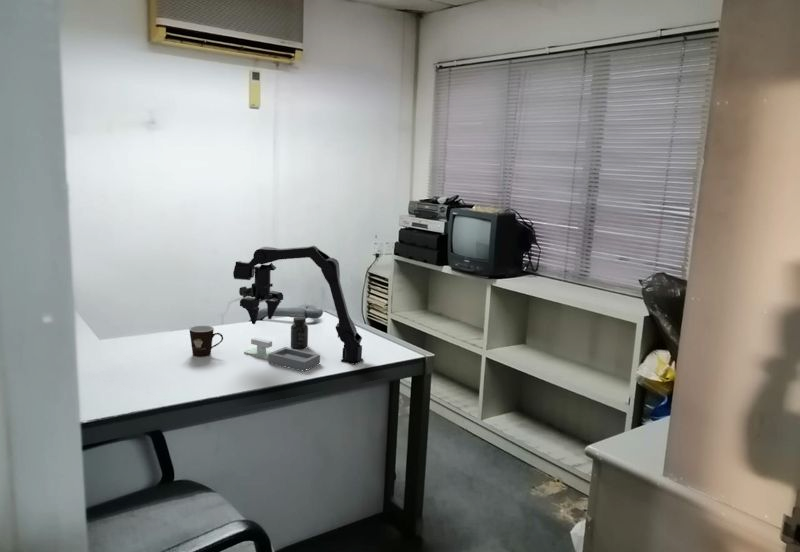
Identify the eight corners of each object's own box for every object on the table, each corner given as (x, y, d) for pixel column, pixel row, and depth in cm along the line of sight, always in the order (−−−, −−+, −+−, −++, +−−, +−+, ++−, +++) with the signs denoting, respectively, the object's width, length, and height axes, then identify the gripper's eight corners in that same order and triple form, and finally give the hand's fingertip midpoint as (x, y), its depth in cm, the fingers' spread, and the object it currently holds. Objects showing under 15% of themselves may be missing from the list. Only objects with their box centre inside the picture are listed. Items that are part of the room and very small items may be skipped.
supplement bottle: (309, 345, 245) (310, 316, 243) (305, 350, 238) (306, 320, 236) (292, 343, 245) (293, 315, 243) (288, 348, 239) (289, 319, 237)
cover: (278, 356, 230) (279, 341, 229) (268, 360, 225) (269, 344, 224) (254, 350, 236) (254, 335, 234) (243, 354, 230) (244, 339, 229)
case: (319, 363, 224) (320, 354, 223) (304, 371, 215) (304, 362, 214) (284, 355, 230) (284, 346, 230) (268, 362, 222) (268, 353, 221)
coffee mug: (184, 355, 224) (184, 329, 222) (201, 349, 232) (201, 324, 230) (207, 361, 219) (207, 334, 217) (224, 355, 227) (224, 329, 225)
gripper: (261, 274, 237) (260, 313, 239) (228, 281, 220) (228, 323, 223) (284, 278, 232) (283, 317, 235) (252, 286, 215) (251, 328, 218)
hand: (261, 321), depth 228 cm, fingers open, 9 cm apart
